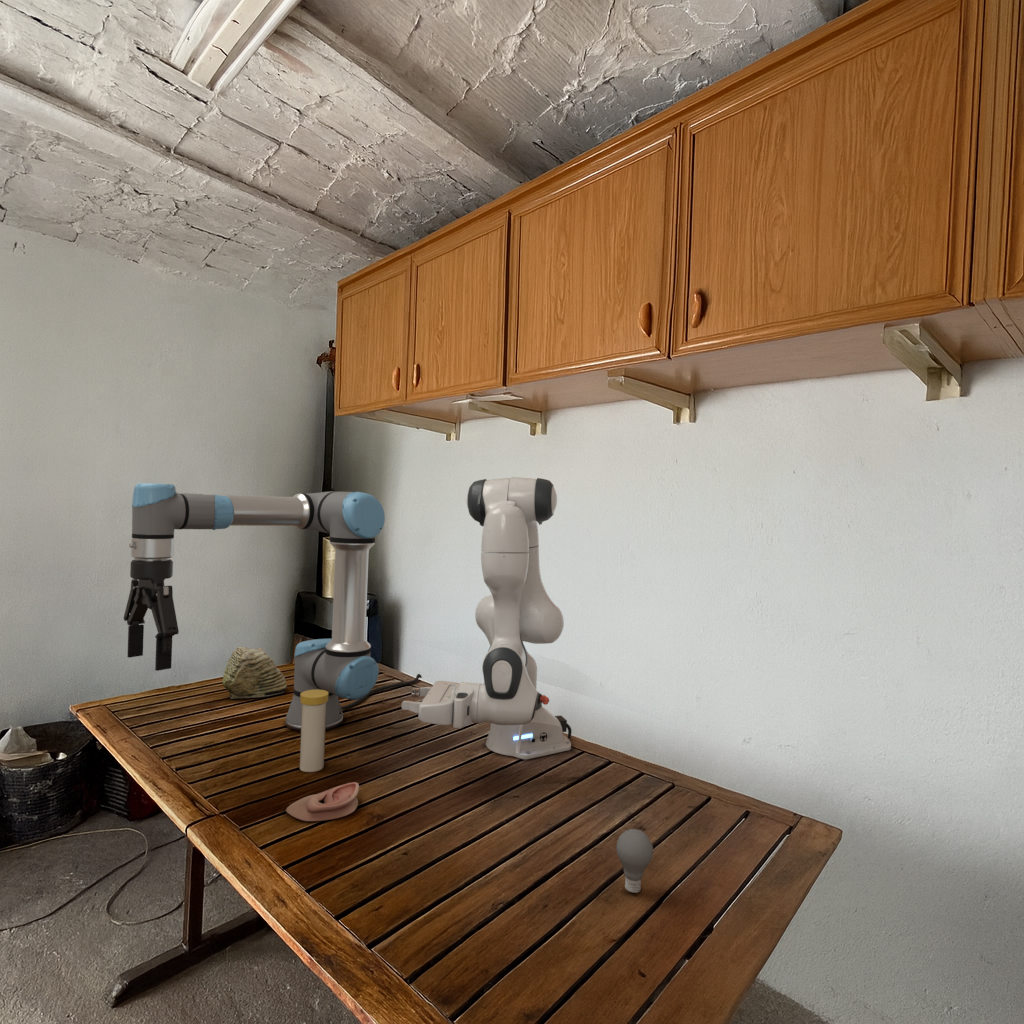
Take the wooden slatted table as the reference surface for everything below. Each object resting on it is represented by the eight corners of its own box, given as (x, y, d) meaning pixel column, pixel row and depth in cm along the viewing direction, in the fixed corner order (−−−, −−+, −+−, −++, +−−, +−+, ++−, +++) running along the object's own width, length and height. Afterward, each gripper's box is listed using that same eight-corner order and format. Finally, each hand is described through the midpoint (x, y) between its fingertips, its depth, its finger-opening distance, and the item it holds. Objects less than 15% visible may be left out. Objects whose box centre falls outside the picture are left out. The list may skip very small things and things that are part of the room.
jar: (301, 773, 144) (303, 700, 144) (298, 764, 149) (300, 693, 149) (325, 770, 147) (328, 697, 146) (321, 761, 152) (324, 690, 151)
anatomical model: (278, 797, 124) (308, 772, 135) (277, 817, 124) (307, 791, 136) (340, 806, 122) (366, 781, 133) (339, 827, 122) (365, 799, 133)
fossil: (218, 695, 195) (220, 647, 195) (278, 685, 208) (279, 640, 207) (228, 703, 189) (230, 653, 188) (289, 692, 201) (290, 645, 201)
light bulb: (610, 879, 108) (613, 822, 108) (644, 879, 109) (647, 822, 109) (619, 902, 102) (622, 840, 102) (655, 901, 103) (658, 840, 103)
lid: (301, 706, 144) (302, 698, 143) (298, 698, 149) (298, 690, 149) (330, 703, 146) (330, 696, 146) (325, 695, 152) (326, 688, 152)
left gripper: (108, 554, 134) (104, 654, 134) (159, 565, 118) (155, 678, 119) (146, 552, 140) (143, 648, 140) (199, 563, 124) (195, 671, 124)
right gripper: (473, 676, 155) (417, 672, 156) (460, 702, 135) (397, 697, 136) (472, 702, 156) (416, 698, 157) (459, 731, 135) (395, 726, 136)
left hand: (148, 662), depth 129 cm, fingers open, 13 cm apart
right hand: (407, 698), depth 146 cm, fingers open, 8 cm apart
